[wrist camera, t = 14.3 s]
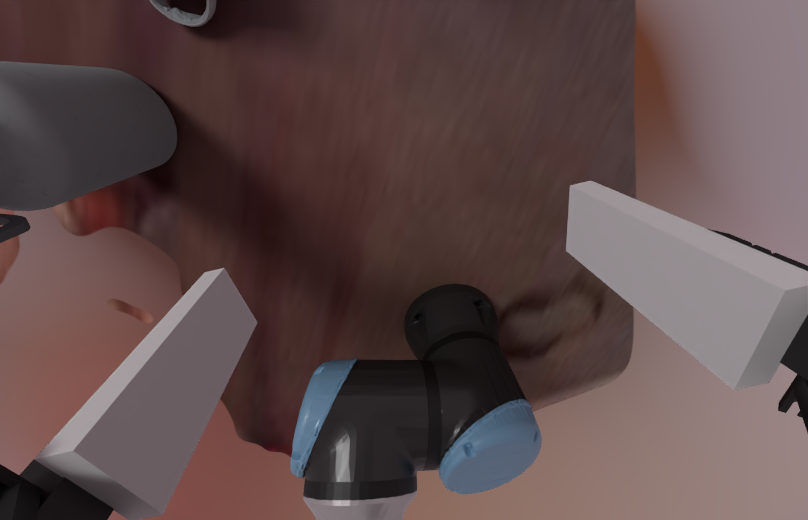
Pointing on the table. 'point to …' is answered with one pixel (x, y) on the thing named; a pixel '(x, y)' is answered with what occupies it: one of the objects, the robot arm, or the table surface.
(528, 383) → the table surface
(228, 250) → the table surface
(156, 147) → the water bottle
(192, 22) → the ceramic mug
